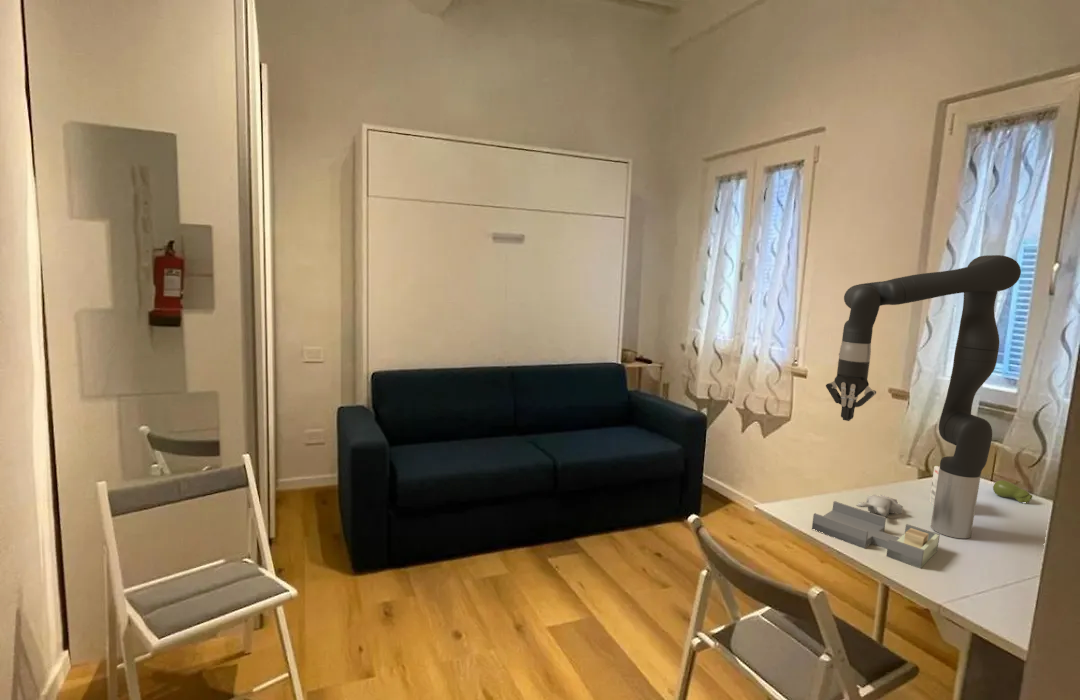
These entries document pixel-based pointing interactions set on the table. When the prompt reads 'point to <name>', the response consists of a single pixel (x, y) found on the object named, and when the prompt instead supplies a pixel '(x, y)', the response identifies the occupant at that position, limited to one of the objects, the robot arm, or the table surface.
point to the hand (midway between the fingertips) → (846, 419)
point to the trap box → (873, 533)
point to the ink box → (934, 484)
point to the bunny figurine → (881, 505)
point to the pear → (1011, 491)
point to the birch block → (916, 538)
